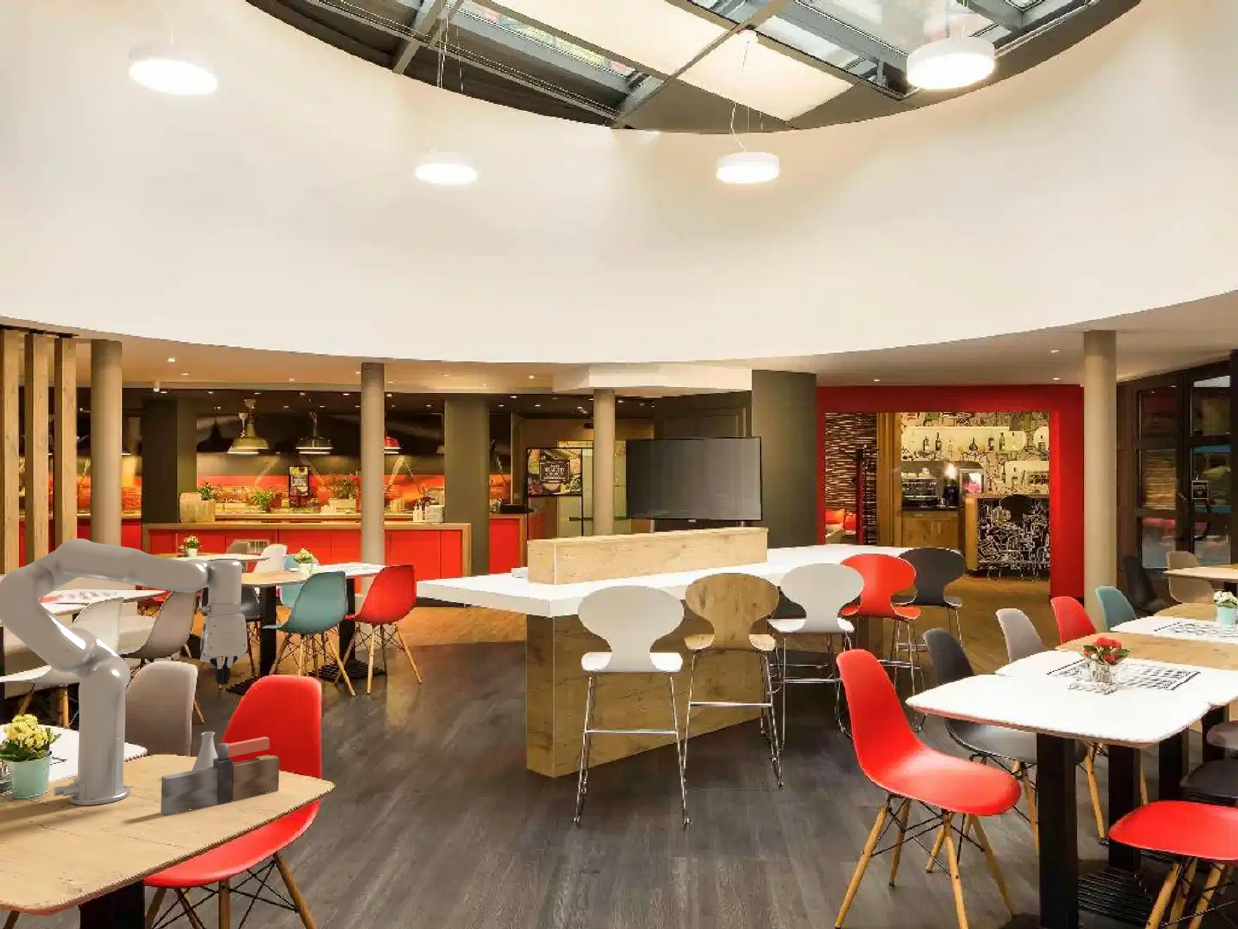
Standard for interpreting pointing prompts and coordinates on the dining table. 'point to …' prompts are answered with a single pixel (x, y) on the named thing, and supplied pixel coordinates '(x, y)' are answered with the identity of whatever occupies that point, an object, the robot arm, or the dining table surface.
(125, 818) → the dining table surface
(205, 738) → the flask
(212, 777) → the two-tone wood plank
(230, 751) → the swing bar
